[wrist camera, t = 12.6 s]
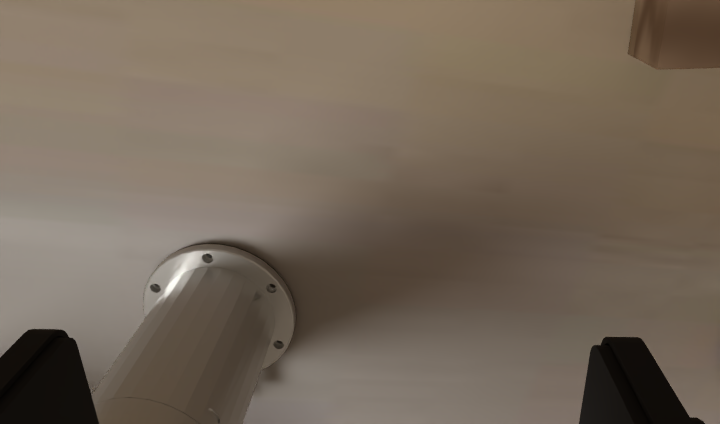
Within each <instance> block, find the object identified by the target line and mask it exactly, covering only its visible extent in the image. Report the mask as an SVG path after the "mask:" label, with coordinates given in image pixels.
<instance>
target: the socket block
mask: <svg viewBox="0 0 720 424" xmlns="http://www.w3.org/2000/svg"><path fill="white" fill-rule="evenodd" d="M628 54H629V55H631V56H633V57H635V58H637V59H639V60H640V61H642V62H644V63H646V64H648V65H650V66H652V67H654V68H655V69H691V68H720V0H636V1H635V8H634V15H633V22H632V29H631V36H630V43H629V50H628Z"/></svg>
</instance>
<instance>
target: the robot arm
mask: <svg viewBox="0 0 720 424" xmlns="http://www.w3.org/2000/svg"><path fill="white" fill-rule="evenodd" d="M273 284H274V285H273ZM143 311H144V315H145V319H144V321H143V322H142V324H141V325H140V326H139V328H138V329H137V331H136V332H135V334H134V335H133V336H132V338H131V339H130V341H129V342H128V344H127V345H126V347H125V348H124V349H123V351H122V352H121V354H120V355H119V357H118V358H117V360H116V361H115V362H114V364H113V365H112V367H111V368H110V370H109V371H108V373H107V374H106V375H105V377H104V378H103V380H102V381H101V383H100V384H99V386H98V387H97V388H96V390H95V391H94V393H93V394H92V396H91V393H90V389H89V386H88V382H87V379H86V375H85V371H84V368H83V364H82V361H81V357H80V354H79V350H78V347H77V344H76V341H75V340H74V339H73V338H69V337H68V335H67V333H66V332H65V331H63V330H56V329H32V330H28V331H27V332H25V333H24V334H23V335H22V336H21V337H20V338H19V339H18V340H17V341H16V342H15V343H14V344H13V345H12V346H11V347H10V348H9V349H8V350H7V351H6V352H5V353H4V354H3V355H2V356H1V357H0V424H243V421H244V418H245V415H246V412H247V409H248V406H249V403H250V400H251V397H252V395H253V392H254V389H255V386H256V383H257V380H258V377H259V374H260V371H261V370H263V369H265V368H267V367H269V366H270V365H271V364H273V363H274V362H275V361H277V360H278V359H279V358H280V357H281V356H282V354H283V353H284V352H285V351H286V349H287V347H288V345H289V343H290V341H291V339H292V336H293V332H294V329H295V321H296V313H295V305H294V302H293V299H292V296H291V293H290V291H289V289H288V288H287V286H286V284H285V282H284V281H283V280H282V278H281V277H280V276H279V275H278V274H277V273H276V271H275V270H274V269H272V268H271V267H270V266H269V265H268V264H266V263H265V262H264V261H263V260H261V259H259V258H257V257H256V256H254V255H252V254H251V253H248V252H246V251H243V250H240V249H238V248H235V247H230V246H225V245H219V244H202V245H195V246H190V247H187V248H184V249H181V250H178V251H177V252H175V253H173V254H172V255H170V256H168V257H167V258H166V259H165V260H164V261H163V262H162V263H160V264H159V265H158V267H157V268H156V269H155V271H154V272H153V273H152V275H151V276H150V278H149V280H148V282H147V284H146V287H145V291H144V296H143ZM579 424H705V423H704V422H703V421H702V420H700V419H698V418H690V417H689V415H688V414H687V412H686V411H685V409H684V407H683V406H682V404H681V402H680V401H679V399H678V397H677V396H676V394H675V392H674V391H673V389H672V387H671V386H670V384H669V383H668V381H667V379H666V378H665V376H664V374H663V373H662V371H661V369H660V368H659V366H658V364H657V363H656V361H655V359H654V358H653V356H652V355H651V353H650V351H649V350H648V348H647V346H646V345H645V343H644V342H643V340H642V339H640V338H638V337H605V338H604V339H603V341H602V343H601V345H594V346H592V348H591V352H590V358H589V364H588V370H587V377H586V383H585V389H584V396H583V402H582V408H581V415H580V421H579Z"/></svg>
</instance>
